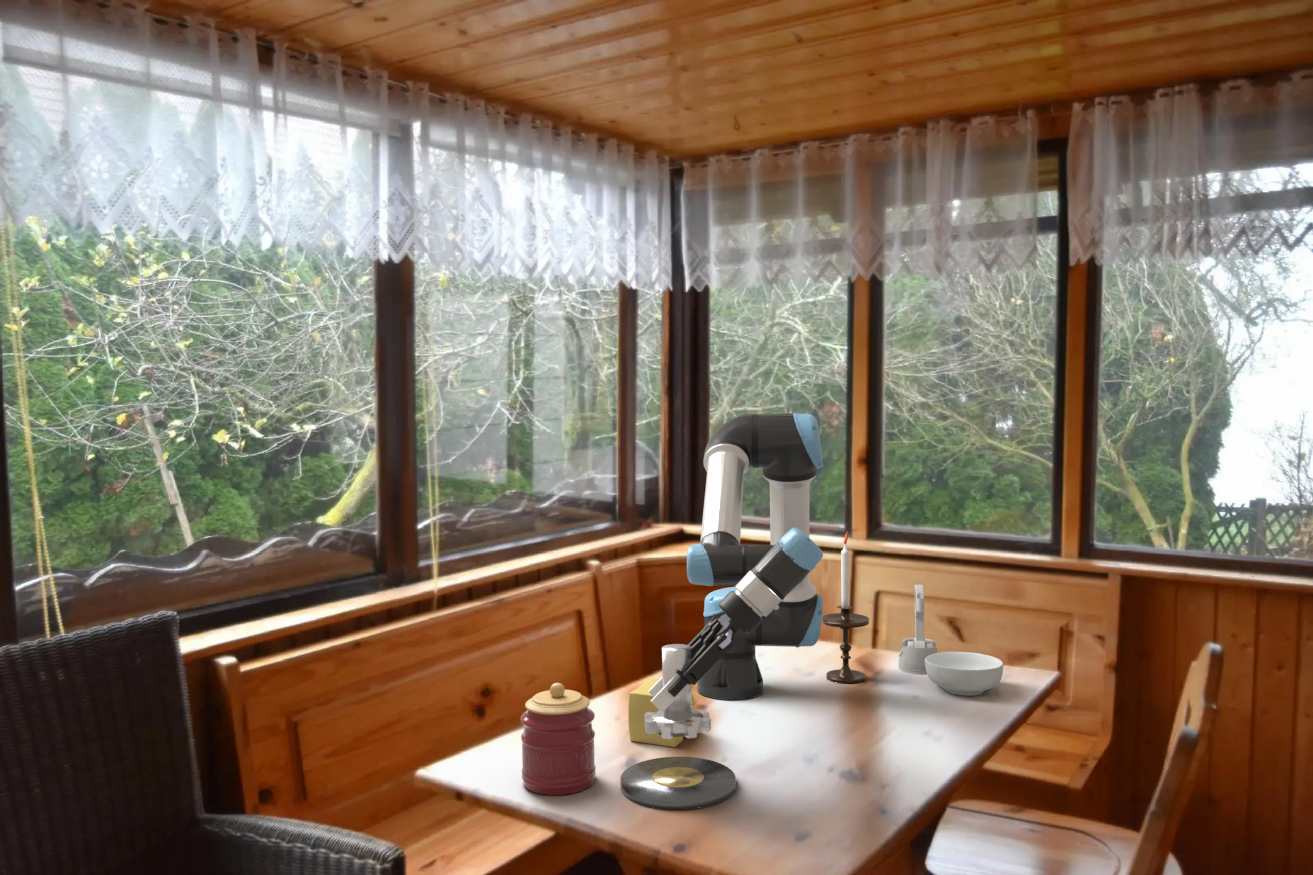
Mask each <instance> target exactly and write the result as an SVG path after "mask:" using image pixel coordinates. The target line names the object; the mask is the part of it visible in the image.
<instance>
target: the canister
mask: <svg viewBox="0 0 1313 875" xmlns="http://www.w3.org/2000/svg"><path fill="white" fill-rule="evenodd" d="M590 702H591V701H590V699H589V698H588V697H586V696H584V695H582V694H581V693H580V692H578V691H576V690H572V689H565V686H564V685H563V684H562V683H561V682H554V683H552V684H551V686H550V688H549V690H544V691H541V692H540V691H539V692H537V693H536V694H534V695H533V696H532V697H531V698H529V699H528V700H526V702H525V705H524V707H525V709H526V711H524V712H523V713H522V714H521V716H520V721H521V723H522V725H523V732H522V733H521V736H520V740H521V743H522V744H521V745H522V747H521V750H522V751H521V752H522V756H521V758H522V760H521V761H522V769H521V779H522V782H523V786H524V787H525V788H526V790H529V791H530V792H532V793H535V794H538V793H539V794H540V795H544V794H545V795H546V796H561V795H562V796H565V795H570V794H575V793H578V792H583V791H584V790H586V789H588V788H590V787H591V786H592V785H593V784H594V781H595V776H596V771H597V770H596V764H595V763H596V762H595V737H596V736H595V735H596V732H595V730H594V728H593V724H592V722H593V721H594V720H595V716H596V714H595V712H594V711H593V710H592V709H591V708H590V707H589V706H590ZM539 794H538V795H539Z"/></svg>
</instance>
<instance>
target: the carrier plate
mask: <svg viewBox="0 0 1313 875" xmlns="http://www.w3.org/2000/svg"><path fill="white" fill-rule="evenodd" d="M619 779H620V781H619V783H620V786H619V787H620V791H621V794H622V795H623V794H624V795H625V796H624V795H623V796H624V797H625V798H626V799H628V800H629V799H630V800H629V801H631V802H633V803H635V804H637V803H638V805H640V806H643V805H645V806H644V807H647V806H648V808H652V807H654V808H653V809H657V808H659V809H660V810H666V809H670V810H669V811H671V810H673V809H689V810H695V809H694V808H698V807H703V808H707V807H706V806H708V807H711V806H710V805H712V806H714V805H715V806H716V805H718V804H720V803H722V802H725V801H727V800H728V799H729V798H731V797H732V796H733V795H734V794H735V791H736V788H737V778H736V775H735V772H734V771H733V770H732V769H731V768H729V767H728V766H727V765H725V764H722V763H720V762H717V761H715V760H711V759H708V758H702V757H692V756H666V757H665V756H662V757H657V758H651V759H646V760H644V761H643V760H642V761H640V762H636V763H635V764H632V765H631V766H629V767H627V768H626V769H624V771H623V772H622V774H621V775H620V778H619ZM717 803H718V804H717ZM691 808H693V809H691ZM659 809H658V810H659ZM698 809H699V808H698ZM673 811H674V810H673Z"/></svg>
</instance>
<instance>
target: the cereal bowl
mask: <svg viewBox="0 0 1313 875" xmlns="http://www.w3.org/2000/svg"><path fill="white" fill-rule="evenodd" d="M925 668H926V673H927V674H926V675H927V676H928V678H929V680H930V681H931V682H932V683H933V684H935V685H936V686H938V687H941V689H942V688H943V689H945V691H947V692H948V693H950V694H953V695H957V696H977V695H980V694H982V693H983V692H984V691H989V690H990V689H992V688H995V687H996V686H997V685H999V683H1000V681H1001V680H1002V678H1003V674H1004V663H1003V661H1002V660H1001V659H1000V658H997V657H995V656H992V655H988V654H983V653H978V652H977V653H976V652H969V651H943V652H938V653H935V654H931V655H929V656H927V657H926V658H925Z"/></svg>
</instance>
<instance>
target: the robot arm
mask: <svg viewBox="0 0 1313 875" xmlns="http://www.w3.org/2000/svg"><path fill="white" fill-rule="evenodd" d="M823 460H824V459H823V454H822V445H821V437H820V431H819V424H818V419H817V418H816V417H815V415H813V414H810V413H796V412H793V413H792V412H791V413H789V412H788V413H787V412H786V413H785V412H784V413H758V414H757V413H746V414H745V413H744V414H740V415H738V416H734V417H732V418H731V419H729V420H728V421H726V422H724V423H723V424H722V425H721V426H720V427H719V428H718V429H717V430H715V432H714V433H712V436H711V437H710V439H709V440H708V442H707V444H706V447H705V449H704V453H703V468H704V469H705V471H706V481H705V491H704V501H703V510H702V511H703V512H702V521H701V531H700V533H701V534H700V541H699V543H696V544H690V545H689V547H688V548H687V553H686V576H687V580H688V582H689V583H690V584H692V585H696V586H697V585H698V586H707V587H712V586H715V587H718V586H719V587H720V586H723V588H720V589H717V590H713V591H712V592H709V593H708V594H707V595H706V596H705V598H704V603H703V604H704V608H703V613H702V614H703V618H704V623H703V624H704V627H703V628H702V630H700V632H698V634H697V635H695V636H694V638H693V639H692V640H691V641H690V642H689V643H688V644H687V645H689V646H690V647H691V660H690V662H689V663H688V664H687V665H686V666H685V668H684V669H683V670H682V671H680V670H678V669H677V670H676V673H677V674H676V675H675V676H674V677H673V678H672V679H671V680H670V681H669V682H668V683H667V684H666V685H665V686H664V687H662V676H660V678H659V680H658V681H657V682H656V683H655V684H654V685H653V686H652V688H651V689H650V690H649V691H648V692H649V693H650V694H651V695H652V696H653V697H654V698H653V699H652V700H651V702H652V703H653V704H654V705H655V706H656V707H657V708H658V709H659V710H660V711H661V712H662V713H663V711H664V710H665V709H666V708H667V707H668V706H669V705H670V704H671V703H672V702H673V701H674V700H675V699H676V698H677V697H678V696H679V695H680V694H681V693H682V692H683V691H684V690H685V688H686V687H687V686H688V685H690V684H691V685H693V686H695V685H697V692H698V693H699V694H700V695H702V696H705V697H707V698H711V699H717V700H732V701H733V700H744V699H751V698H755V697H758V696H759V695H762V693H763V692H764V679H763V675H762V673H761V670H760V669H761V668H760V666H759V664H758V660H757V657H756V647H786V648H787V647H788V648H789V647H790V648H791V647H792V648H793V647H794V648H796V649H797V648H798V649H799V648H800V647H813V646H815V645H816V644H817V643H818V641H819V638H820V633H821V627H822V617H823V608H824V598H823V596H822V595H821V594H819V593H817V588H816V586H815V585H814V584H813V583H812V582H811V581H810V572H811V571H813V570H814V569H815V568H816V567H817V565H818V564H819V562H820V561H821V560H822V559H823V557H824V552H823V551H822V549H821V548H820V547H819V546H818V545H817V544H816V543H815V542H814V541H813V540H812V539H811V538H810V483H811V482H812V481H813V480H814V479H815V478H816V477H817V470H820V469H821V468H823V467H824V461H823ZM749 468H752V469H762V477H763V478H764V479H765V480H766V481H767V482H768V483H769V523H770V524H769V525H770V526H769V528H770V529H769V533H770V536H769V537H770V539H769V540H770V541H769V542H770V544H741V533H742V530H741V529H742V512H743V497H744V496H743V495H744V494H743V492H744V475H745V474H746V473H747V472H748V471H749ZM726 586H727V587H726ZM728 586H730V587H728ZM731 586H732V587H731Z"/></svg>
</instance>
